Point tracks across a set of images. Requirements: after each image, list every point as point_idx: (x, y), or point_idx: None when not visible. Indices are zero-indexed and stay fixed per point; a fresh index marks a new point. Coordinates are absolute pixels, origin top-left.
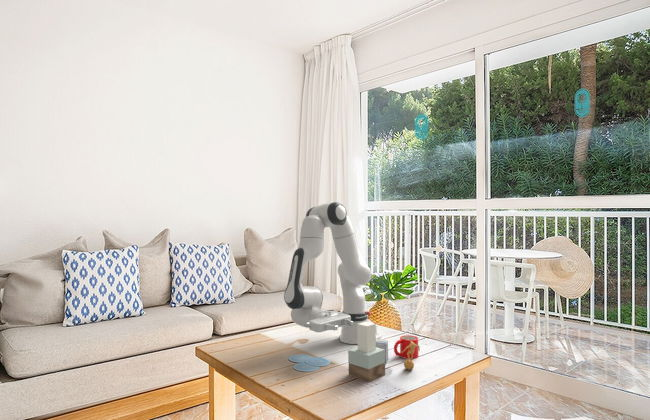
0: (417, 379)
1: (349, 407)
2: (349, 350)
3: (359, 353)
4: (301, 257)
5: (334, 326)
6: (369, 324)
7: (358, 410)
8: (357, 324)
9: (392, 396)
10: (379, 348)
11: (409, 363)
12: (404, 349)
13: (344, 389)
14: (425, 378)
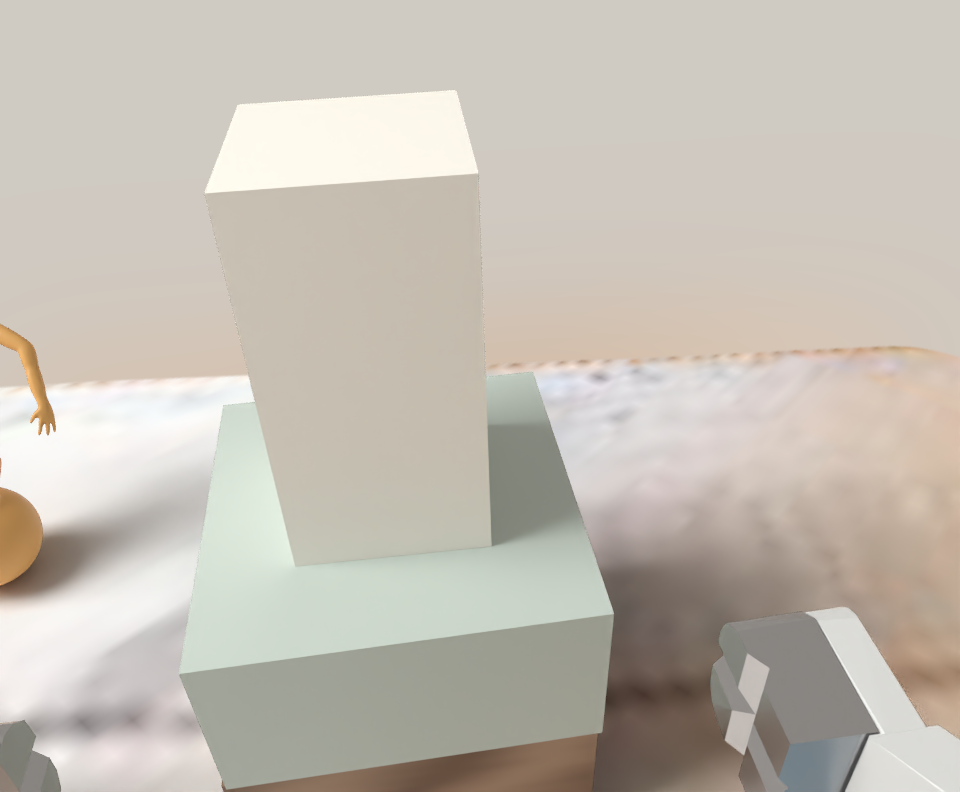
0: (193, 431)
1: (903, 391)
2: (607, 594)
3: (561, 461)
4: None
5: (858, 628)
6: (341, 113)
7: (861, 354)
8: (477, 183)
9: (560, 367)
10: (226, 450)
11: (18, 495)
12: (32, 371)
13: (820, 578)
14: (138, 416)
